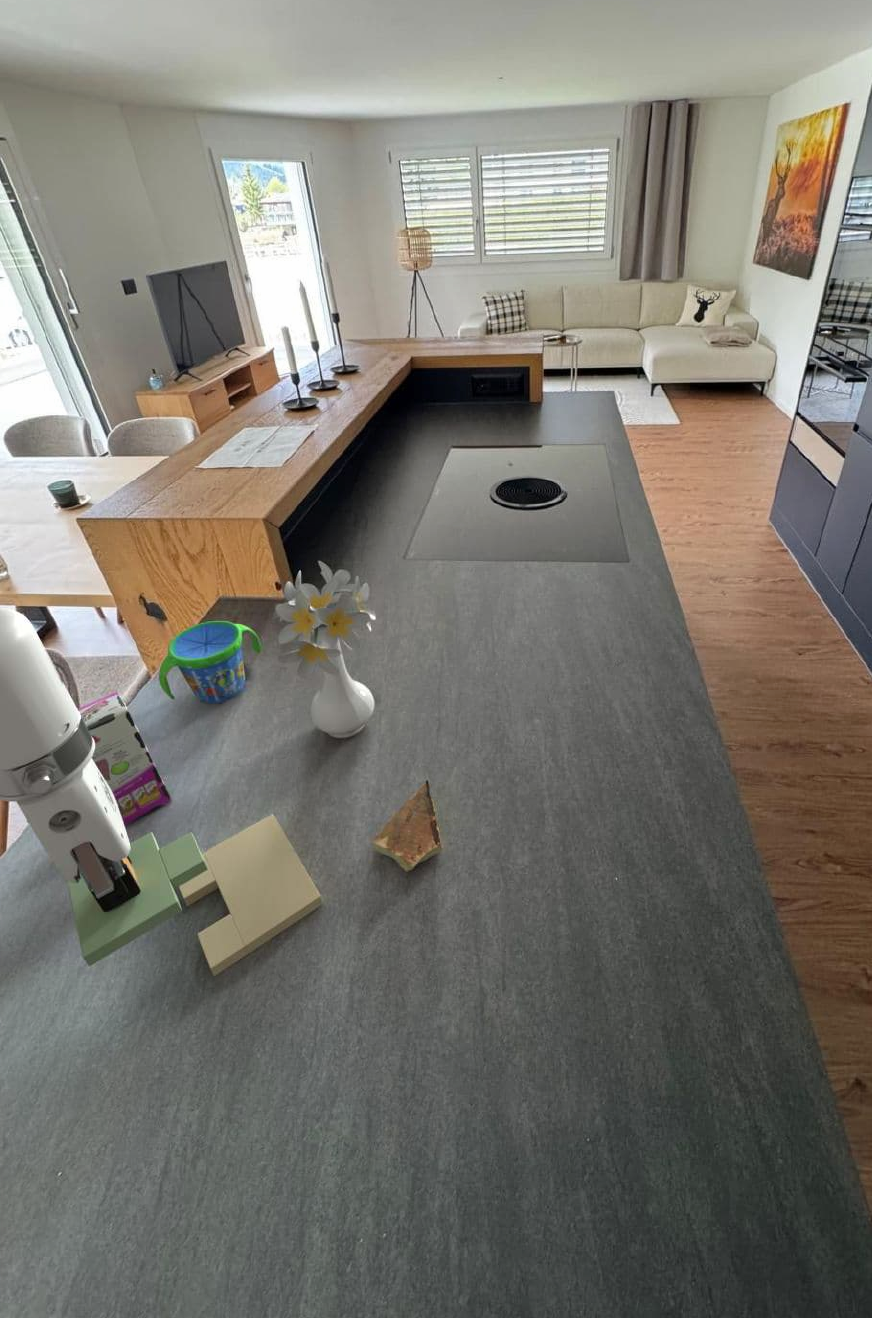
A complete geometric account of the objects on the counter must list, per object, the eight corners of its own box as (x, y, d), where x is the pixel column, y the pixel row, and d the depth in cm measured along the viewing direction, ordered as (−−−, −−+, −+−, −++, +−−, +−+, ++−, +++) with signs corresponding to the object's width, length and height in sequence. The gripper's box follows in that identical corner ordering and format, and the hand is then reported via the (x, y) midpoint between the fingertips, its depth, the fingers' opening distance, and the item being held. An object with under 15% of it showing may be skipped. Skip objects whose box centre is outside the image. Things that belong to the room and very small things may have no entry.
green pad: (89, 966, 55) (54, 919, 51) (71, 885, 62) (39, 838, 58) (217, 889, 61) (194, 841, 57) (188, 823, 68) (166, 776, 64)
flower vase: (304, 784, 84) (260, 634, 70) (304, 694, 99) (268, 557, 86) (400, 762, 86) (376, 614, 73) (385, 678, 101) (363, 543, 88)
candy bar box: (161, 779, 85) (119, 688, 77) (173, 801, 82) (130, 709, 73) (70, 827, 79) (12, 734, 70) (78, 853, 76) (20, 759, 67)
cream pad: (214, 976, 63) (210, 968, 62) (176, 877, 73) (172, 869, 72) (323, 903, 69) (320, 895, 68) (275, 821, 79) (272, 813, 78)
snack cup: (254, 654, 108) (239, 605, 103) (281, 682, 102) (267, 632, 96) (161, 696, 100) (140, 646, 94) (184, 731, 93) (162, 679, 88)
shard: (428, 787, 82) (427, 777, 81) (475, 813, 78) (474, 804, 78) (371, 848, 75) (369, 838, 74) (419, 880, 71) (418, 871, 70)
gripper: (107, 789, 46) (183, 926, 56) (72, 680, 58) (140, 810, 67) (-13, 847, 43) (90, 983, 52) (-25, 718, 54) (62, 850, 64)
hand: (118, 885), depth 60 cm, fingers closed on green pad, 3 cm apart
